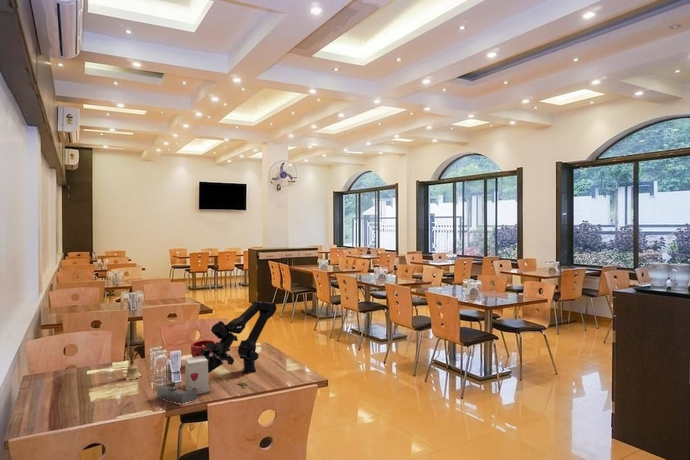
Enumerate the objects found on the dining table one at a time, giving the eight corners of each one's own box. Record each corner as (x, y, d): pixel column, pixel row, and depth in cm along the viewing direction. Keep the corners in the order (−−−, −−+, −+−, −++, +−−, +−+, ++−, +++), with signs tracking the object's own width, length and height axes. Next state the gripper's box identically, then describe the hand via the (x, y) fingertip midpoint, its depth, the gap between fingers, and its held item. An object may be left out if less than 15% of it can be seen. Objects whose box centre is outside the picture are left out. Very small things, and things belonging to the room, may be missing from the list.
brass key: (236, 383, 227) (236, 382, 227) (242, 382, 229) (242, 380, 229) (243, 388, 221) (243, 386, 221) (250, 386, 223) (249, 385, 223)
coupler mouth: (173, 392, 218) (172, 380, 218) (197, 399, 208) (196, 387, 208) (157, 398, 211) (157, 385, 211) (181, 405, 202) (181, 392, 201)
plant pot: (186, 366, 256) (185, 344, 256) (206, 359, 267) (205, 338, 266) (202, 370, 249) (201, 347, 248) (221, 363, 259) (221, 341, 259)
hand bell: (129, 381, 234) (127, 349, 234) (120, 378, 239) (119, 346, 239) (144, 376, 241) (143, 345, 240) (136, 373, 246) (135, 343, 245)
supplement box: (188, 396, 213) (187, 363, 212) (185, 389, 220) (184, 358, 220) (209, 392, 217) (208, 360, 216) (205, 386, 225) (204, 355, 224)
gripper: (202, 332, 233) (184, 360, 224) (228, 337, 222) (210, 367, 213) (215, 344, 239) (198, 372, 231) (241, 350, 229) (224, 379, 220)
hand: (207, 372), depth 224 cm, fingers closed
